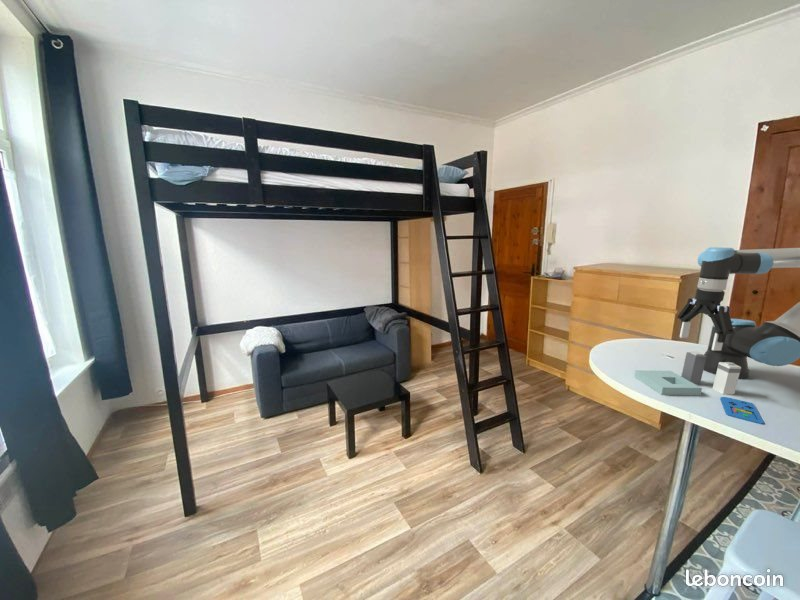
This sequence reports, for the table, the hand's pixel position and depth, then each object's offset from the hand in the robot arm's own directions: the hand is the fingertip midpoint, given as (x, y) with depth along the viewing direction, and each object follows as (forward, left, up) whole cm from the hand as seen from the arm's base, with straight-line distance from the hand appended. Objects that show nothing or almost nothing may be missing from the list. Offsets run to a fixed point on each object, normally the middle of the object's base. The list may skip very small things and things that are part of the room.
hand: (699, 343), depth 118 cm
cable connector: (-6, +7, -17) cm, 19 cm away
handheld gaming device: (0, +19, -17) cm, 25 cm away
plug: (0, 0, -17) cm, 17 cm away
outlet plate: (+12, +3, -17) cm, 21 cm away
